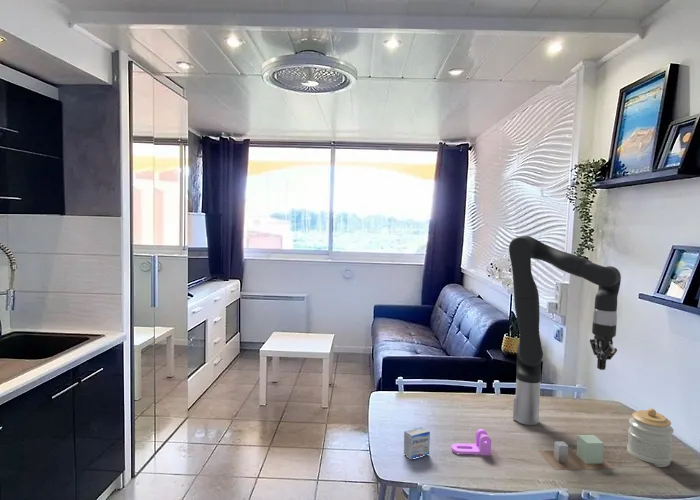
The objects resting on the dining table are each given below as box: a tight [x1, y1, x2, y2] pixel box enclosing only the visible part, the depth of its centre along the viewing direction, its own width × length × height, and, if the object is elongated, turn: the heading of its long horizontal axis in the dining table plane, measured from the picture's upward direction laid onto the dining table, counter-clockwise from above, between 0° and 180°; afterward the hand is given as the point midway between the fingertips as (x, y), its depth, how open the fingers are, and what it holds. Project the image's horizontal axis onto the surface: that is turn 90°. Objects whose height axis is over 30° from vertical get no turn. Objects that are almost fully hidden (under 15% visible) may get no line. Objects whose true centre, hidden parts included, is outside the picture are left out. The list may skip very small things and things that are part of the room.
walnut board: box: [537, 449, 615, 471], centre depth 155 cm, size 20×12×2 cm, turn 94°
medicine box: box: [403, 426, 431, 460], centre depth 158 cm, size 8×4×9 cm, turn 118°
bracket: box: [450, 428, 492, 456], centre depth 162 cm, size 13×6×7 cm, turn 90°
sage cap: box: [576, 434, 605, 464], centre depth 155 cm, size 6×6×7 cm
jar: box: [626, 407, 675, 468], centre depth 159 cm, size 13×13×18 cm
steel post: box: [553, 440, 570, 462], centre depth 154 cm, size 3×3×6 cm
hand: (601, 369), depth 166 cm, fingers closed
